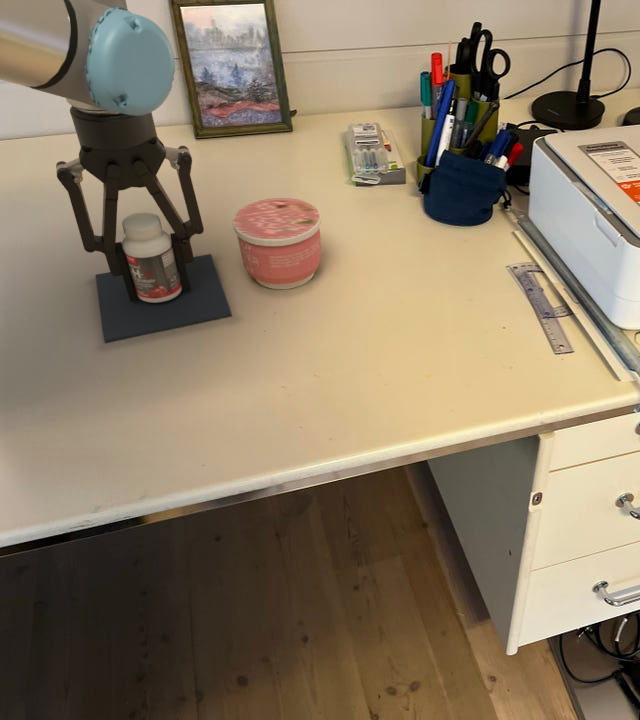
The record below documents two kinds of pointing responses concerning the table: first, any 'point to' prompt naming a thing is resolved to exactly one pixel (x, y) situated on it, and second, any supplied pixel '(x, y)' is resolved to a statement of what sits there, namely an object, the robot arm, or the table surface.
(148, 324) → the mat
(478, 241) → the table surface
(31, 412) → the table surface
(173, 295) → the pill bottle
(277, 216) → the container
